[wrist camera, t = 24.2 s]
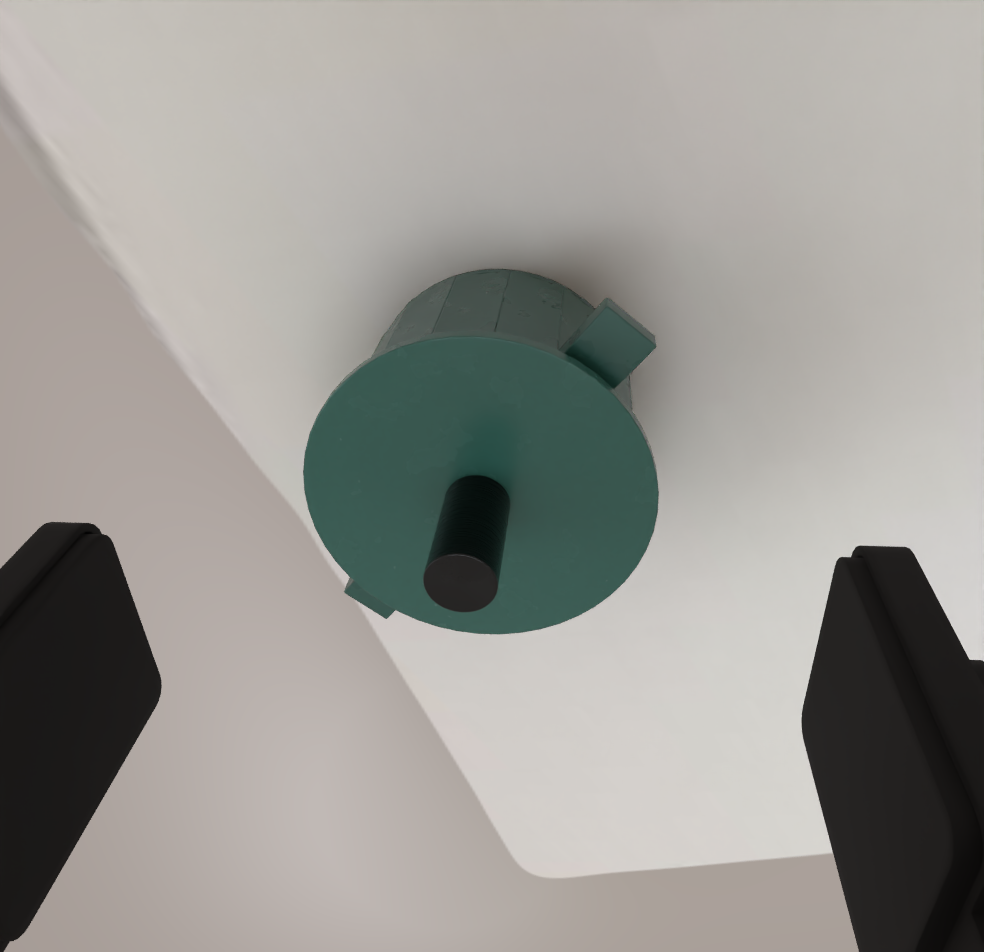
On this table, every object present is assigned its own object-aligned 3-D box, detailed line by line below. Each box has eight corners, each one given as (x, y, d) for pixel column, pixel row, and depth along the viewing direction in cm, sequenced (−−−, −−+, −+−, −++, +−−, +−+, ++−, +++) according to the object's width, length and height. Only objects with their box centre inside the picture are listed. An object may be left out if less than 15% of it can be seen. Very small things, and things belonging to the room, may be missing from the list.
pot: (726, 339, 38) (759, 436, 30) (490, 565, 47) (470, 684, 39) (515, 161, 35) (493, 220, 27) (303, 439, 43) (242, 542, 36)
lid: (733, 472, 32) (759, 574, 27) (509, 663, 39) (496, 773, 34) (442, 244, 28) (408, 310, 23) (251, 497, 35) (191, 592, 30)
